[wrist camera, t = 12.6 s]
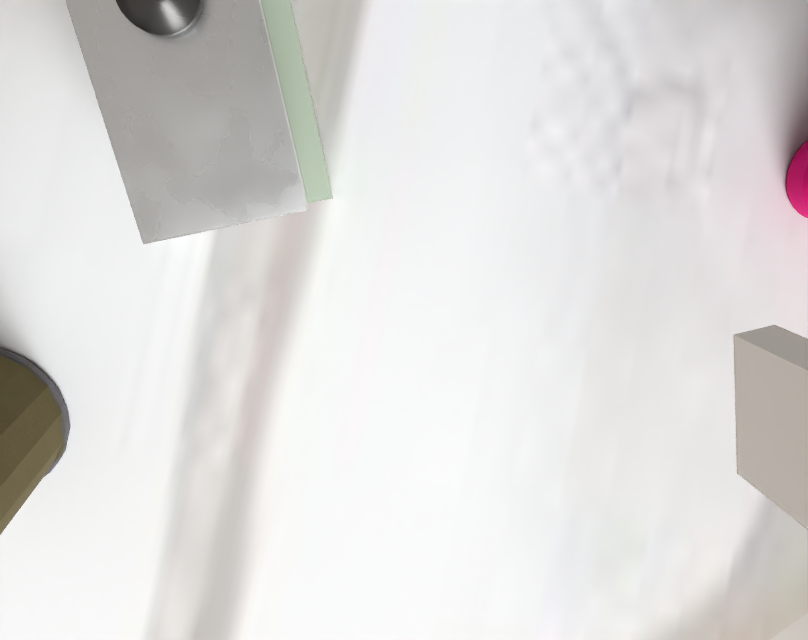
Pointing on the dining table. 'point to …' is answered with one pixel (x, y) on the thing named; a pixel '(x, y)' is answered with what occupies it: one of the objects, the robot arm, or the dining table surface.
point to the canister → (27, 431)
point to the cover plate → (191, 111)
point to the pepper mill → (799, 181)
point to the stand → (297, 98)
